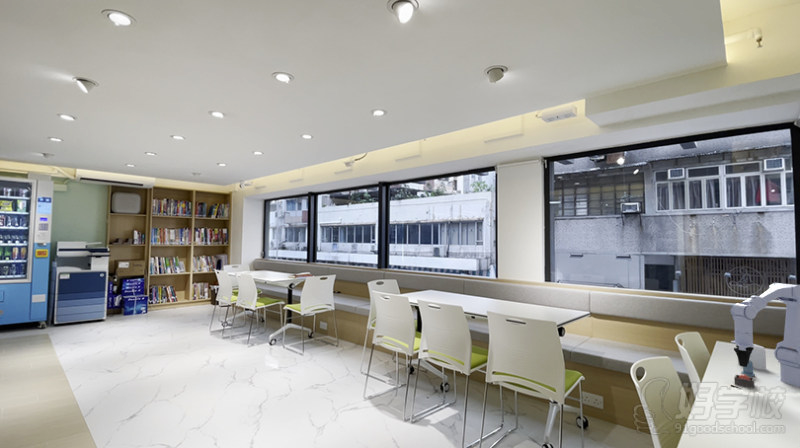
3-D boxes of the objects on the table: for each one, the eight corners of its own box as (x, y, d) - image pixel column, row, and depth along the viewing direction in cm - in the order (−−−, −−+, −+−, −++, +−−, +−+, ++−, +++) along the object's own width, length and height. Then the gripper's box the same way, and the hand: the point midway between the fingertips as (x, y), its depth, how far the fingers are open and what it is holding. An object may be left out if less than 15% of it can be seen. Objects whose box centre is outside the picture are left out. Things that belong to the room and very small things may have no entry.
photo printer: (737, 367, 187) (736, 342, 188) (738, 365, 190) (738, 340, 190) (765, 372, 179) (765, 346, 180) (766, 371, 182) (766, 345, 182)
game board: (737, 373, 176) (737, 365, 176) (760, 378, 170) (760, 369, 170) (730, 386, 159) (730, 376, 159) (756, 392, 153) (756, 382, 153)
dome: (738, 381, 161) (738, 372, 161) (751, 384, 158) (751, 375, 158) (737, 383, 158) (737, 374, 158) (750, 386, 155) (750, 377, 156)
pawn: (758, 377, 169) (757, 361, 169) (748, 376, 168) (748, 361, 169) (748, 373, 173) (747, 358, 174) (738, 373, 173) (738, 358, 173)
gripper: (733, 328, 167) (733, 359, 166) (729, 333, 157) (729, 365, 157) (754, 331, 162) (755, 363, 161) (751, 336, 152) (752, 370, 151)
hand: (744, 364), depth 159 cm, fingers open, 6 cm apart
